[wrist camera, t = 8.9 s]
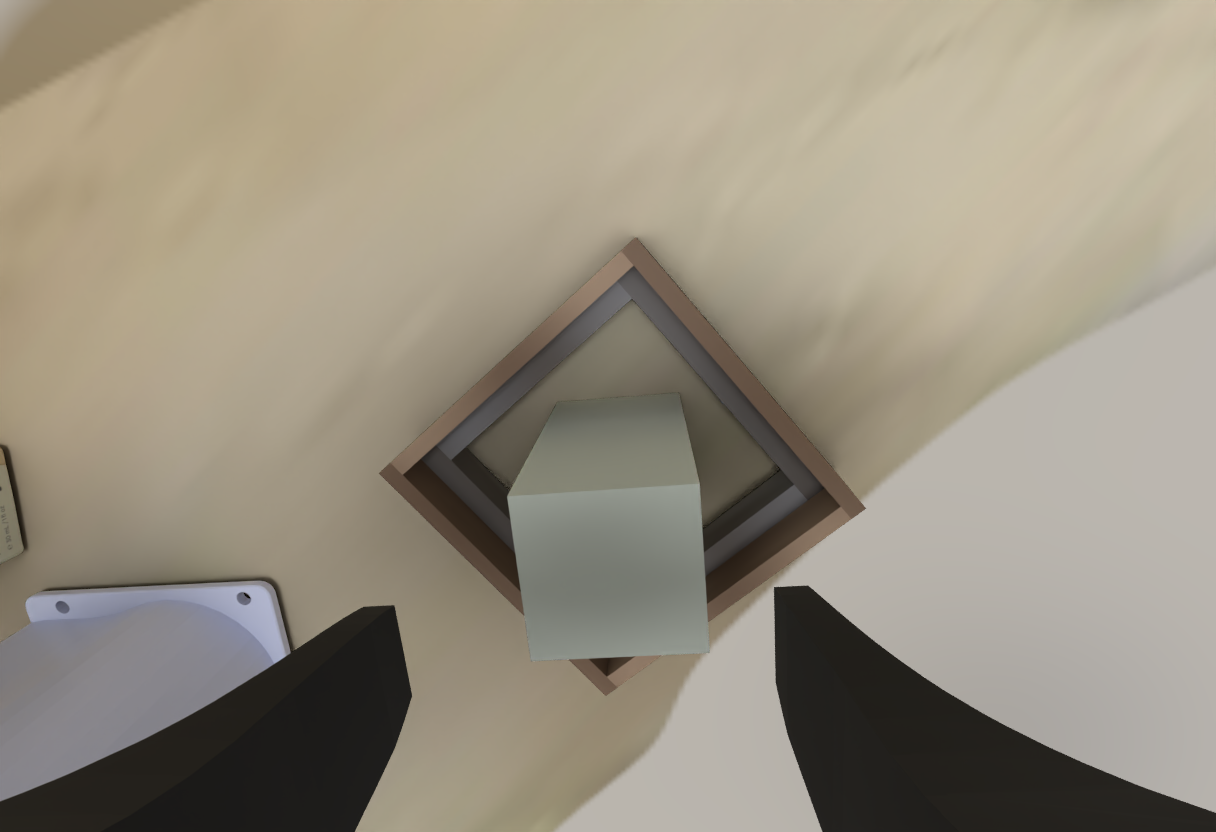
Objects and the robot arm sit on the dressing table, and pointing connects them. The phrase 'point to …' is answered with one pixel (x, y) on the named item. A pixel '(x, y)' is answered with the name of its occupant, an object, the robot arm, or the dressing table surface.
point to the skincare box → (8, 517)
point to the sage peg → (611, 532)
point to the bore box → (806, 484)
